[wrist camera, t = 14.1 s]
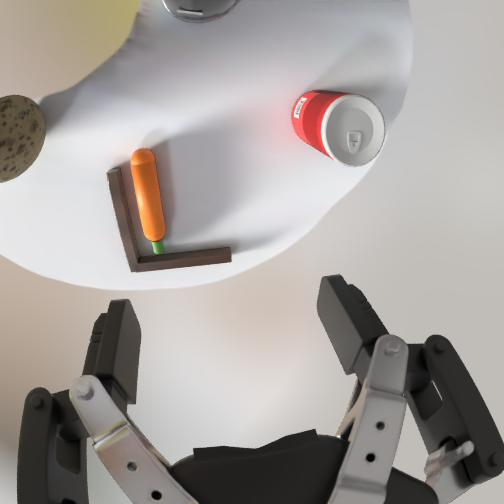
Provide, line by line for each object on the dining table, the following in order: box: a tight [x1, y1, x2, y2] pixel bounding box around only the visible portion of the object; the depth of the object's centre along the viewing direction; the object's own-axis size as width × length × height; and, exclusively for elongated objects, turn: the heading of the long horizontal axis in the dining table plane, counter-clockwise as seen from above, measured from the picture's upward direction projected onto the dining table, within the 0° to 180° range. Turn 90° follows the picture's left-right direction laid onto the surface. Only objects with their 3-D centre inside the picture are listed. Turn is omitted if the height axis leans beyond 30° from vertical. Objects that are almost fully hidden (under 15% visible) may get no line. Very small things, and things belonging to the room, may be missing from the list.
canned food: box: [292, 90, 385, 167], centre depth 30 cm, size 8×8×11 cm
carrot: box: [130, 148, 166, 254], centre depth 35 cm, size 15×3×3 cm, turn 0°
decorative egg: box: [0, 95, 46, 183], centre depth 20 cm, size 11×11×15 cm
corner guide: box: [106, 168, 232, 272], centre depth 38 cm, size 16×16×2 cm
